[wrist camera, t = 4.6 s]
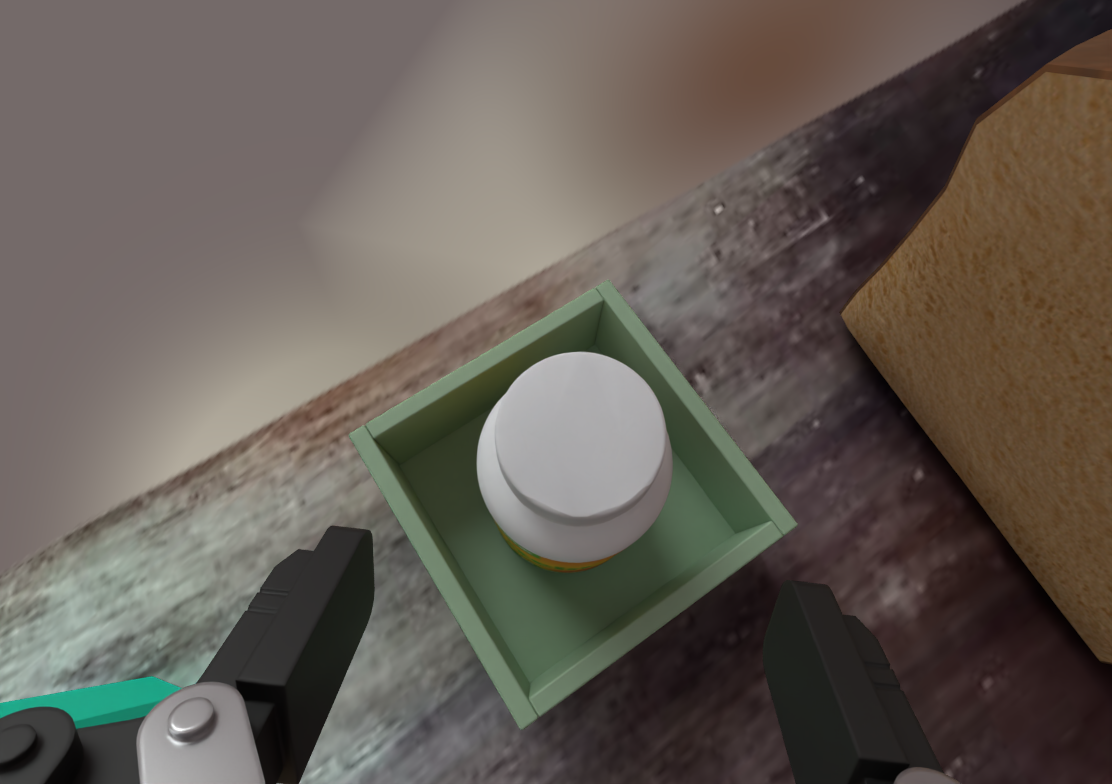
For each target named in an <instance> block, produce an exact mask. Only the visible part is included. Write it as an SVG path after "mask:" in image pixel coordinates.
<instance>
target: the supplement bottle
mask: <svg viewBox="0 0 1112 784" xmlns="http://www.w3.org/2000/svg"><path fill="white" fill-rule="evenodd" d="M672 473H673V459H672V449H671V444H670V440H669V436H668V433H667V430H666V423H665V419H664V414H663V411H662V408H661V406H660V404H659V401H658V399H657V397H656V396H655V394H654V392H653V391H652V389H651V388H650V387H649V385H648V384H647V383H646V382H645V380H644V379H643V378H641V377H640V376H639V375H638V374H637V373H636V372H635V371H634V370H632V369H631V368H629V367H628V366H626V365H625V364H623V363H621V362H619V361H617V360H615V359H613V358H610V357H608V356H604V355H600V354H596V353H590V352H570V353H562V354H558V355H554V356H551V357H548V358H546V359H544V360H542V361H540V362H538V363H536V364H534V365H533V366H531V367H530V368H529V369H527V370H526V371H525V372H523V373H522V374H521V375H520V376H519V377H518V378H517V379H516V380H515V381H514V383H513V384H512V385H511V386H510V388H509V389H508V391H507V393H506V394H505V395H504V396H503V397H502V398H501V399H500V400H499V401H498V402H497V404H496V405H495V406H494V408H493V409H492V411H491V412H490V414H489V416H488V418H487V420H486V422H485V424H484V426H483V429H482V432H481V435H480V439H479V443H478V450H477V476H478V482H479V487H480V491H481V494H482V497H483V499H484V502H485V504H486V506H487V508H488V510H489V512H490V514H491V516H492V518H493V520H494V521H495V523H496V525H497V527H498V530H499V532H500V534H501V535H502V537H503V539H504V540H505V541H506V543H507V544H508V545H509V547H510V548H511V549H512V550H513V551H514V552H515V553H516V554H517V555H518V556H520V557H521V558H522V559H524V560H525V561H527V562H528V563H530V564H532V565H534V566H536V567H538V568H540V569H544V570H547V571H551V572H556V573H576V572H582V571H586V570H589V569H592V568H595V567H597V566H599V565H601V564H603V563H604V562H606V561H608V560H609V559H611V558H612V557H613V556H615V555H616V554H618V553H619V552H621V551H623V550H624V549H626V548H627V547H629V546H630V545H631V544H633V543H634V542H635V541H637V540H638V539H639V538H640V537H641V536H642V535H643V534H644V533H645V532H646V531H647V530H648V529H649V528H650V526H651V525H652V524H653V523H654V522H655V520H656V519H657V517H658V515H659V514H660V512H661V510H662V508H663V506H664V504H665V502H666V499H667V497H668V493H669V490H670V486H671V481H672Z"/></svg>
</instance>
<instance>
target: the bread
mask: <svg viewBox="0 0 1112 784" xmlns="http://www.w3.org/2000/svg"><path fill="white" fill-rule="evenodd" d="M839 313H840V315H841V316H842V318H843V320H844V322H845V324H846V326H847V328H848V329H849V331H850V332H851V333H852V335H853V336H854V338H855V339H856V340H857V342H858V343H859V345H860V346H861V347H862V349H863V350H864V351H865V353H866V354H867V356H868V357H869V358H870V360H871V361H872V363H873V364H874V365H875V366H876V368H877V369H878V370H879V372H880V373H881V374H882V376H883V377H884V378H885V380H886V381H887V382H888V384H889V385H890V386H891V388H892V389H893V390H894V392H895V393H896V394H897V396H898V397H899V398H900V400H901V401H902V402H903V404H904V405H905V406H906V408H907V409H908V410H909V412H910V413H911V414H912V416H913V417H914V418H915V420H916V421H917V422H918V423H919V425H920V426H921V427H922V429H923V430H924V431H925V433H926V434H927V435H928V436H929V438H930V439H931V440H932V442H933V443H934V444H935V445H936V447H937V448H938V449H939V451H940V452H941V453H942V455H943V456H944V457H945V458H946V460H947V461H948V462H949V464H950V465H951V466H952V468H953V469H954V470H955V471H956V473H957V474H958V475H959V477H960V478H961V479H962V481H963V482H964V483H965V484H966V486H967V487H968V489H969V490H970V491H971V493H972V494H973V495H974V497H975V498H976V499H977V501H978V502H979V503H980V505H981V506H982V507H983V509H984V510H985V511H986V513H987V514H988V515H989V517H990V518H991V519H992V521H993V522H994V524H995V525H996V526H997V528H998V529H999V530H1000V532H1001V533H1002V534H1003V536H1004V537H1005V538H1006V540H1007V541H1008V542H1009V544H1010V545H1011V546H1012V548H1013V549H1014V550H1015V552H1016V553H1017V554H1018V556H1019V557H1020V558H1021V560H1022V561H1023V562H1024V564H1025V565H1026V566H1027V567H1028V569H1029V570H1030V571H1031V573H1032V574H1033V575H1034V577H1035V578H1036V579H1037V581H1038V582H1039V583H1040V584H1041V586H1042V587H1043V588H1044V590H1045V591H1046V592H1047V594H1048V595H1049V596H1050V598H1051V599H1052V601H1053V602H1054V603H1055V605H1056V606H1057V607H1058V609H1059V610H1060V611H1061V613H1062V614H1063V615H1064V616H1065V618H1066V619H1067V620H1068V621H1069V623H1070V624H1071V625H1072V627H1073V628H1074V629H1075V630H1076V632H1077V633H1078V634H1079V636H1080V637H1081V638H1082V639H1083V641H1084V642H1085V643H1086V644H1087V646H1088V647H1089V648H1090V650H1091V651H1092V652H1093V653H1094V655H1095V656H1096V657H1097V658H1098V660H1099V661H1100V662H1101V663H1106V664H1112V29H1111V30H1109V31H1107V32H1105V33H1102V34H1100V35H1098V36H1096V37H1094V38H1092V39H1090V40H1088V41H1085V42H1083V43H1081V44H1079V45H1077V46H1075V47H1073V48H1072V49H1070V50H1069V51H1067V52H1065V53H1064V54H1062V55H1060V56H1059V57H1057V58H1056V59H1054V60H1052V61H1051V62H1049V63H1047V64H1046V65H1045V66H1043V67H1042V68H1041V69H1040V70H1038V71H1037V72H1036V73H1035V74H1033V75H1032V76H1031V77H1029V78H1028V79H1027V80H1026V81H1024V82H1023V83H1022V84H1020V85H1019V86H1018V87H1017V88H1015V89H1014V90H1013V91H1011V92H1010V93H1009V94H1008V95H1006V96H1005V97H1004V98H1002V99H1001V100H1000V101H999V102H997V103H996V104H995V105H994V106H992V107H991V108H990V109H988V110H987V111H986V112H985V113H983V114H982V115H981V116H979V117H978V118H977V119H976V121H975V123H974V125H973V127H972V129H971V131H970V133H969V136H968V138H967V140H966V142H965V144H964V146H963V148H962V151H961V153H960V155H959V157H958V159H957V161H956V163H955V166H954V168H953V170H952V172H951V174H950V176H949V178H948V180H947V183H946V185H945V186H944V188H943V189H942V190H941V192H940V193H939V194H938V195H937V197H936V198H935V199H934V200H933V202H932V203H931V204H930V206H929V207H928V208H927V209H926V211H925V212H924V213H923V214H922V216H921V217H920V218H919V219H918V221H917V222H916V223H915V225H914V226H913V227H912V228H911V230H910V231H909V232H908V233H907V234H906V236H905V237H904V238H903V239H902V240H901V241H900V243H899V244H898V245H897V246H896V247H895V248H894V250H893V251H892V252H891V253H890V254H889V256H888V257H887V258H886V259H885V260H884V261H883V263H882V264H881V265H880V266H879V267H878V268H877V269H876V270H875V271H874V272H873V273H872V274H871V275H870V276H869V277H868V278H867V279H866V280H865V281H864V282H863V283H862V284H861V285H860V287H859V288H858V289H857V290H856V291H855V292H854V293H853V295H852V296H851V297H850V299H849V300H848V301H847V303H846V304H845V305H844V307H843V308H842V309H841V311H840V312H839Z"/></svg>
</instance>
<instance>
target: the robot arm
mask: <svg viewBox="0 0 1112 784" xmlns="http://www.w3.org/2000/svg"><path fill="white" fill-rule="evenodd" d="M374 591H375V587H374V563H373V540H372V533H371V531H370V530H365V529H357V528H348V527H340V526H330V527H329V528H328V529H327V531H326V532H325V534H324V535H323V537H322V539H321V540H320V542H319V544H318V545H317V547H316V549H315V550H314V551H309V550H300V549H298V550H297V551H295V552H294V553H293V554H291V555H290V556H289V557H287V558H286V559H284V560H283V561H282V562H280V563H279V564H278V565H276V566H275V567H274V569H273V570H272V572H271V573H270V575H269V576H268V578H267V579H266V581H265V582H264V584H263V585H262V587H261V589H260V592H259V593H257V594H256V596H255V597H254V599H253V600H252V602H251V603H250V605H249V608H248V610H247V611H245V612H244V614H243V615H242V617H241V618H240V619H239V621H238V622H237V624H236V625H235V627H234V628H233V630H232V631H231V633H230V634H229V636H228V637H227V639H226V640H225V642H224V643H223V645H222V646H221V648H220V649H219V651H218V652H217V654H216V655H215V657H214V658H213V660H212V661H211V663H210V664H209V666H208V667H207V669H206V670H205V672H204V673H203V675H202V676H201V678H200V679H199V680H198V681H197V683H196V684H193V685H190V686H187V687H184V688H182V689H180V690H178V691H176V692H174V693H172V694H170V695H169V696H167V697H166V698H164V699H163V700H162V701H160V702H159V703H158V704H157V705H156V706H155V707H154V708H153V709H152V710H151V711H150V712H149V713H148V714H147V715H146V716H143V717H140V718H136V719H131V720H126V721H120V722H114V723H108V724H102V725H96V726H90V727H84V728H78V729H76V727H75V724H74V721H73V718H72V717H71V716H70V715H69V714H68V713H67V712H66V711H64V710H62V709H59V708H56V707H33V708H28V709H24V710H20V711H17V712H14V713H11V714H9V715H7V716H4V717H2V718H0V784H276V783H283V784H299V782H300V780H301V777H302V775H303V773H304V770H305V768H306V766H307V763H308V761H309V759H310V756H311V754H312V752H313V749H314V747H315V745H316V742H317V740H318V738H319V735H320V733H321V731H322V728H323V726H324V724H325V721H326V719H327V717H328V714H329V712H330V710H331V707H332V705H333V703H334V700H335V698H336V696H337V693H338V691H339V689H340V687H341V684H342V682H343V680H344V677H345V675H346V673H347V670H348V668H349V666H350V663H351V661H352V659H353V656H354V654H355V652H356V649H357V647H358V645H359V642H360V640H361V638H362V635H363V633H364V631H365V628H366V626H367V624H368V621H369V618H370V615H371V611H372V607H373V601H374ZM763 665H764V670H765V674H766V678H767V682H768V685H769V689H770V692H771V696H772V700H773V703H774V707H775V710H776V714H777V718H778V721H779V725H780V728H781V732H782V736H783V739H784V743H785V747H786V750H787V754H788V757H789V761H790V765H791V768H792V772H793V775H794V779H795V783H796V784H961V783H960V782H958V781H957V780H955V779H953V778H952V777H950V776H948V775H946V774H944V772H943V770H942V769H941V767H940V765H939V763H938V761H937V759H936V757H935V754H934V752H933V750H932V748H931V746H930V744H929V742H928V740H927V738H926V736H925V734H924V732H923V730H922V728H921V726H920V724H919V722H918V720H917V718H916V716H915V714H914V712H913V710H912V708H911V706H910V704H909V702H908V700H907V698H906V696H905V694H904V692H903V691H901V690H900V684H899V682H898V680H897V678H896V676H895V674H894V672H893V670H892V669H890V664H889V662H888V660H887V658H886V656H885V654H884V652H883V650H882V647H881V645H880V643H879V641H878V639H877V638H876V637H875V636H874V635H873V634H872V633H871V632H870V631H869V630H868V629H867V628H866V627H865V626H864V625H863V624H862V622H861V621H860V620H859V619H858V618H857V617H856V616H850V615H842V612H841V610H840V608H839V606H838V604H837V601H836V599H835V597H834V595H833V592H832V591H831V589H830V588H829V586H827V585H825V584H816V583H808V582H799V581H791V580H786V581H785V582H784V583H783V584H782V586H781V589H780V592H779V595H778V598H777V601H776V604H775V607H774V610H773V613H772V616H771V619H770V622H769V625H768V628H767V631H766V634H765V638H764V643H763Z"/></svg>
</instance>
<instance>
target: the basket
mask: <svg viewBox="0 0 1112 784" xmlns="http://www.w3.org/2000/svg"><path fill="white" fill-rule="evenodd" d="M570 352H590V353H596V354H600V355H604V356H608V357H610V358H613V359H615V360H617V361H619V362H621V363H623V364H625V365H626V366H628V367H629V368H631V369H632V370H634V371H635V372H636V373H637V374H638V375H639V376H640V377H641V378H643V379H644V380H645V382H646V383H647V384H648V385H649V387H650V388H651V389H652V391H653V392H654V394H655V396H656V397H657V399H658V401H659V404H660V406H661V408H662V411H663V414H664V419H665V423H666V430H667V433H668V436H669V440H670V444H671V449H672V459H673V473H672V481H671V486H670V490H669V493H668V497H667V499H666V502H665V504H664V506H663V508H662V510H661V512H660V514H659V515H658V517H657V519H656V520H655V522H654V523H653V524H652V525H651V526H650V528H649V529H648V530H647V531H646V532H645V533H644V534H643V535H642V536H641V537H640V538H639V539H638V540H637V541H635V542H634V543H633V544H631V545H630V546H629V547H627V548H626V549H624V550H623V551H621V552H619V553H618V554H616V555H615V556H613V557H612V558H611V559H609V560H608V561H606V562H604V563H603V564H601V565H599V566H597V567H595V568H592V569H589V570H586V571H582V572H576V573H556V572H551V571H547V570H544V569H540V568H538V567H536V566H534V565H532V564H530V563H528V562H527V561H525V560H524V559H522V558H521V557H520V556H518V555H517V554H516V553H515V552H514V551H513V550H512V549H511V548H510V547H509V545H508V544H507V543H506V541H505V540H504V539H503V537H502V535H501V534H500V532H499V530H498V527H497V525H496V523H495V521H494V520H493V518H492V516H491V514H490V512H489V510H488V508H487V506H486V504H485V502H484V499H483V497H482V494H481V491H480V487H479V482H478V476H477V450H478V443H479V439H480V435H481V432H482V429H483V426H484V424H485V422H486V420H487V418H488V416H489V414H490V412H491V411H492V409H493V408H494V406H495V405H496V404H497V402H498V401H499V400H500V399H501V398H502V397H503V396H504V395H505V394H506V393H507V391H508V389H509V388H510V386H511V385H512V384H513V383H514V381H515V380H516V379H517V378H518V377H519V376H520V375H521V374H522V373H523V372H525V371H526V370H527V369H529V368H530V367H531V366H533V365H534V364H536V363H538V362H540V361H542V360H544V359H546V358H548V357H551V356H554V355H558V354H562V353H570ZM349 437H350V439H351V441H352V443H353V444H354V446H355V448H356V449H357V451H358V453H359V455H360V456H361V458H362V460H363V461H364V463H365V465H366V466H367V468H368V470H369V472H370V473H371V475H372V477H373V478H374V480H375V482H376V484H377V485H378V487H379V489H380V490H381V492H382V494H383V496H384V497H385V499H386V501H387V502H388V504H389V506H390V508H391V509H392V511H393V513H394V514H395V516H396V518H397V520H398V521H399V523H400V525H401V526H402V528H403V530H404V532H405V533H406V535H407V537H408V538H409V540H410V542H411V543H412V545H413V547H414V549H415V550H416V552H417V554H418V555H419V557H420V559H421V561H422V562H423V564H424V566H425V567H426V569H427V571H428V573H429V574H430V576H431V578H432V579H433V581H434V583H435V585H436V586H437V588H438V590H439V591H440V593H441V595H442V597H443V598H444V600H445V602H446V603H447V605H448V607H449V608H450V610H451V612H452V614H453V615H454V617H455V619H456V620H457V622H458V624H459V626H460V627H461V629H462V631H463V632H464V634H465V636H466V638H467V639H468V641H469V643H470V644H471V646H472V648H473V650H474V651H475V653H476V655H477V656H478V658H479V660H480V662H481V663H482V665H483V667H484V668H485V670H486V672H487V674H488V675H489V677H490V679H491V680H492V682H493V684H494V685H495V687H496V689H497V691H498V692H499V694H500V696H501V697H502V699H503V701H504V703H505V704H506V706H507V708H508V709H509V711H510V713H511V715H512V716H513V718H514V720H515V721H516V723H517V725H518V727H519V728H520V729H521V730H524V729H525V728H526V727H528V726H529V725H530V724H532V723H533V722H534V721H536V720H537V719H538V716H539V717H540V716H542V715H544V714H545V713H546V712H548V711H549V710H551V709H552V708H553V707H555V706H556V705H557V704H559V703H560V702H561V701H563V700H564V699H565V698H567V697H568V696H569V695H571V694H572V693H573V692H575V691H576V690H577V689H579V688H580V687H581V686H583V685H584V684H586V683H587V682H588V681H590V680H591V679H592V678H594V677H595V676H596V675H598V674H599V673H600V672H602V671H603V670H604V669H606V668H607V667H608V666H610V665H611V664H612V663H614V662H615V661H617V660H618V659H619V658H621V657H622V656H623V655H625V654H626V653H627V652H629V651H630V650H631V649H633V648H634V647H635V646H637V645H638V644H639V643H641V642H642V641H643V640H645V639H646V638H647V637H649V636H650V635H652V634H653V633H654V632H656V631H657V630H658V629H660V628H661V627H662V626H664V625H665V624H666V623H668V622H669V621H670V620H672V619H673V618H674V617H676V616H677V615H678V614H680V613H681V612H683V611H684V610H685V609H687V608H688V607H689V606H691V605H692V604H693V603H695V602H696V601H697V600H699V599H700V598H701V597H703V596H704V595H705V594H707V593H708V592H709V591H711V590H712V589H713V588H715V587H716V586H718V585H719V584H720V583H722V582H723V581H724V580H726V579H727V578H728V577H730V576H731V575H732V574H734V573H735V572H736V571H738V570H739V569H740V568H742V567H743V566H744V565H746V564H747V563H749V562H750V561H751V560H753V559H754V558H755V557H757V556H758V555H759V554H761V553H762V552H763V551H765V550H766V549H767V548H769V547H770V546H771V545H773V544H774V543H775V542H777V541H778V540H779V539H781V538H782V537H783V536H784V535H786V534H788V533H789V532H790V531H792V530H793V529H794V528H796V527H797V525H798V524H797V523H796V521H795V520H794V519H793V517H792V516H791V515H790V514H789V512H788V511H787V510H786V508H785V507H784V506H783V504H782V503H781V502H780V501H779V499H778V498H777V497H776V495H775V494H774V493H773V492H772V490H771V489H770V488H769V486H768V485H767V484H766V482H765V481H764V480H763V479H762V477H761V476H760V475H759V473H758V472H757V471H756V470H755V468H754V467H753V466H752V464H751V463H750V462H749V460H748V459H747V458H746V457H745V455H744V454H743V453H742V451H741V450H740V449H739V447H738V446H737V445H736V444H735V442H734V441H733V440H732V438H731V437H730V436H729V435H728V433H727V432H726V431H725V429H724V428H723V427H722V425H721V424H720V423H719V422H718V420H717V419H716V418H715V416H714V415H713V414H712V412H711V411H710V410H709V409H708V407H707V406H706V405H705V403H704V402H703V401H702V400H701V398H700V397H699V396H698V394H697V393H696V392H695V390H694V389H693V388H692V387H691V385H690V384H689V383H688V381H687V380H686V379H685V378H684V376H683V375H682V374H681V372H680V371H679V370H678V368H677V367H676V366H675V365H674V363H673V362H672V361H671V359H670V358H669V357H668V355H667V354H666V353H665V352H664V350H663V349H662V348H661V346H660V345H659V344H658V343H657V341H656V340H655V339H654V337H653V336H652V335H651V333H650V332H649V331H648V330H647V328H646V327H645V326H644V324H643V323H642V322H641V320H640V319H639V318H638V317H637V315H636V314H635V313H634V311H633V310H632V309H631V308H630V306H629V305H628V304H627V302H626V301H625V300H624V298H623V297H622V296H621V295H620V293H619V292H618V291H617V289H616V288H615V287H614V286H613V284H612V283H611V282H610V280H606V281H605V282H603V283H601V284H600V285H598V286H596V288H593V289H591V290H590V291H588V292H586V293H585V294H583V295H581V296H580V297H578V298H576V299H575V300H573V301H571V302H570V303H568V304H566V305H564V306H563V307H561V308H559V309H558V310H556V311H554V312H553V313H551V314H549V315H548V316H546V317H544V318H543V319H541V320H539V321H538V322H536V323H534V324H533V325H531V326H529V327H528V328H526V329H524V330H523V331H521V332H519V333H517V334H516V335H514V336H512V337H511V338H509V339H507V340H506V341H504V342H502V343H501V344H499V345H497V346H496V347H494V348H492V349H491V350H489V351H487V352H486V353H484V354H482V355H481V356H479V357H477V358H476V359H474V360H472V361H470V362H469V363H467V364H465V365H464V366H462V367H460V368H459V369H457V370H455V371H454V372H452V373H450V374H449V375H447V376H445V377H444V378H442V379H440V380H439V381H437V382H435V383H434V384H432V385H430V386H429V387H427V388H425V389H423V390H422V391H420V392H418V393H417V394H415V395H413V396H412V397H410V398H408V399H407V400H405V401H403V402H402V403H400V404H398V405H397V406H395V407H393V408H392V409H390V410H388V411H387V412H385V413H383V414H381V415H380V416H378V417H376V418H375V419H373V420H371V421H370V422H368V423H367V424H366V426H361V427H360V428H358V429H356V430H355V431H353V432H351V433H350V434H349Z"/></svg>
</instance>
